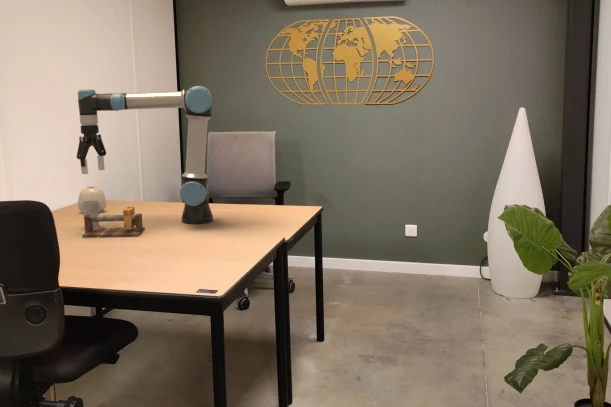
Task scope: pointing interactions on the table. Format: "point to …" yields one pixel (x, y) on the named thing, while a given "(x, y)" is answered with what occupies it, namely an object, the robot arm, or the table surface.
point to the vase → (92, 197)
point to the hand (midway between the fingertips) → (93, 172)
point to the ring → (128, 217)
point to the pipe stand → (111, 232)
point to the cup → (91, 209)
